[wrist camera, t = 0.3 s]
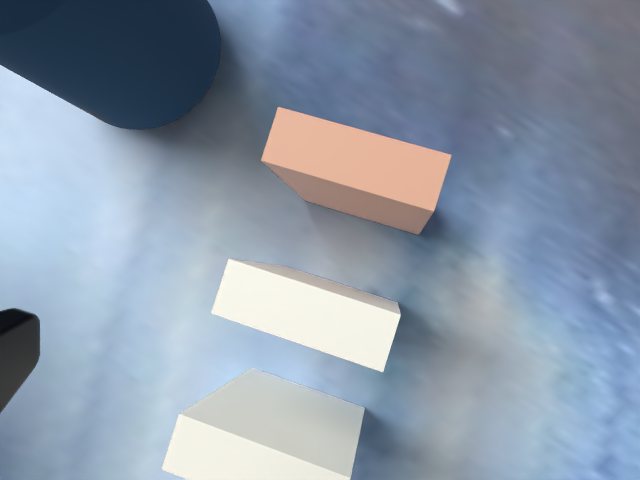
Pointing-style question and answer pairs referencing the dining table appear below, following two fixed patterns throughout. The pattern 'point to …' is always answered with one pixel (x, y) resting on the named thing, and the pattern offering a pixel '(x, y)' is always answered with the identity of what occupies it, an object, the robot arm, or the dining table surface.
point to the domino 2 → (309, 311)
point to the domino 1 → (356, 170)
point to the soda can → (115, 54)
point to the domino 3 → (265, 433)
